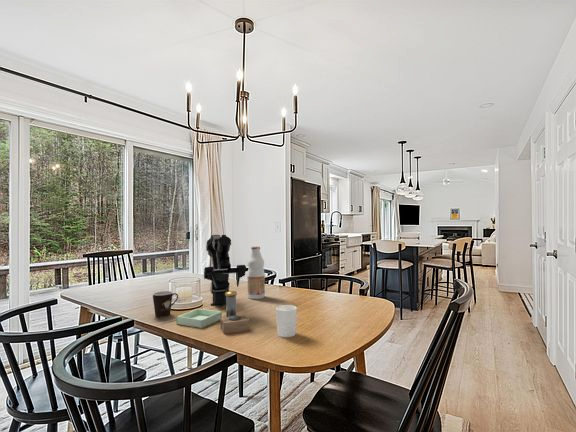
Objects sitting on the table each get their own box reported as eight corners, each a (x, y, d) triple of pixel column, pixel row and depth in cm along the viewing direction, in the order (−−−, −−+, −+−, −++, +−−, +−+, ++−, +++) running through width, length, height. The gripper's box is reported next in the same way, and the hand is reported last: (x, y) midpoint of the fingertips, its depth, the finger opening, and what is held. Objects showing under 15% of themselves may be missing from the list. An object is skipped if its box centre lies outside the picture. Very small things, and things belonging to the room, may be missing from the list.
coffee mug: (153, 318, 145) (153, 296, 145) (151, 314, 153) (151, 292, 153) (181, 315, 151) (180, 293, 151) (177, 310, 158) (177, 289, 158)
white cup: (275, 331, 127) (275, 305, 128) (295, 330, 128) (295, 304, 128) (276, 338, 120) (276, 311, 120) (298, 337, 120) (297, 310, 120)
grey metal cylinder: (223, 324, 136) (222, 293, 136) (229, 321, 141) (229, 290, 141) (232, 325, 134) (232, 294, 134) (239, 322, 139) (239, 291, 139)
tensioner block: (220, 327, 132) (220, 315, 132) (245, 324, 136) (245, 313, 136) (223, 333, 125) (223, 320, 126) (249, 330, 129) (249, 317, 129)
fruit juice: (248, 300, 177) (248, 247, 177) (246, 296, 186) (246, 246, 186) (266, 298, 179) (265, 247, 179) (263, 295, 188) (262, 245, 188)
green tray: (176, 323, 138) (176, 316, 138) (197, 315, 150) (197, 308, 150) (201, 327, 132) (201, 320, 132) (221, 318, 144) (221, 311, 144)
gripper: (240, 268, 164) (245, 295, 154) (201, 270, 158) (204, 299, 148) (243, 254, 157) (249, 281, 147) (203, 256, 151) (206, 284, 140)
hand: (227, 287), depth 145 cm, fingers open, 9 cm apart
